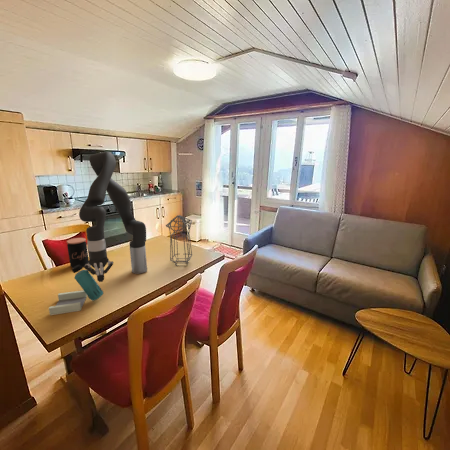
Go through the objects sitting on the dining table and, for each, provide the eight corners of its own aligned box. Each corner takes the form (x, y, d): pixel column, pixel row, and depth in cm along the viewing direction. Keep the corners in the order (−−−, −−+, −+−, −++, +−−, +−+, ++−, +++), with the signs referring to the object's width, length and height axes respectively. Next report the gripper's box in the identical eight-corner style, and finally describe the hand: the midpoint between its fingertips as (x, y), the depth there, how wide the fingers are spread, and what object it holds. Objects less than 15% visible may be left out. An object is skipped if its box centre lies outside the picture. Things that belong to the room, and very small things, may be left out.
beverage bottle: (99, 302, 110) (75, 269, 103) (89, 304, 112) (65, 272, 105) (108, 292, 116) (85, 261, 109) (98, 294, 118) (75, 263, 111)
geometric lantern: (190, 268, 152) (188, 218, 143) (167, 268, 153) (163, 217, 144) (194, 259, 168) (192, 212, 158) (173, 259, 168) (170, 212, 159)
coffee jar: (72, 270, 146) (67, 243, 141) (69, 265, 154) (65, 239, 149) (90, 266, 153) (87, 240, 148) (87, 261, 160) (84, 236, 156)
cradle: (87, 295, 118) (86, 289, 117) (80, 310, 106) (79, 304, 105) (59, 299, 114) (58, 293, 114) (49, 315, 103) (48, 308, 102)
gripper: (113, 244, 114) (116, 276, 118) (83, 246, 109) (87, 279, 114) (111, 249, 107) (115, 283, 111) (79, 252, 102) (83, 286, 107)
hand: (101, 281), depth 112 cm, fingers closed
